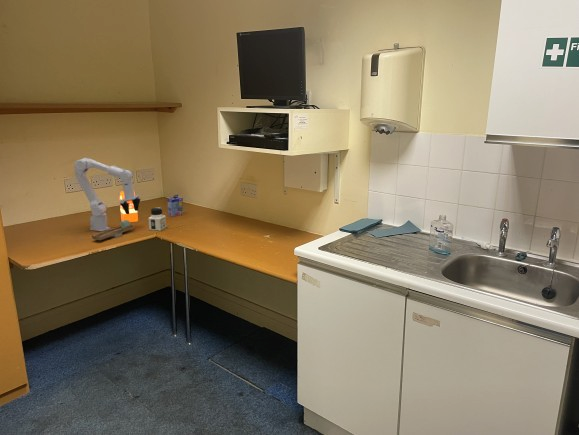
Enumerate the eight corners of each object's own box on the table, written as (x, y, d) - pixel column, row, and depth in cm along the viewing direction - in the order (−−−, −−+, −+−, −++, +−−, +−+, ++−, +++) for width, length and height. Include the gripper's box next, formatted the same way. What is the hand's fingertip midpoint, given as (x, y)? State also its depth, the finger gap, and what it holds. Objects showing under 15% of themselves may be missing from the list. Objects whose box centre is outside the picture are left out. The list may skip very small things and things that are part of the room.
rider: (121, 227, 268) (120, 221, 267) (125, 226, 271) (125, 219, 270) (124, 228, 267) (124, 221, 266) (129, 226, 270) (129, 220, 269)
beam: (91, 241, 251) (90, 235, 250) (124, 229, 274) (124, 223, 273) (101, 243, 248) (101, 236, 247) (135, 231, 271) (134, 225, 270)
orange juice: (138, 221, 293) (135, 191, 288) (124, 223, 289) (121, 192, 283) (134, 218, 300) (132, 189, 295) (121, 220, 295) (118, 190, 290)
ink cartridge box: (173, 217, 304) (171, 196, 300) (167, 215, 307) (166, 195, 303) (184, 214, 312) (182, 193, 308) (178, 213, 315) (177, 192, 311)
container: (160, 230, 272) (159, 210, 269) (149, 229, 274) (147, 209, 270) (166, 227, 280) (165, 207, 276) (155, 226, 281) (153, 206, 278)
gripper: (124, 193, 261) (128, 215, 264) (142, 188, 274) (145, 209, 277) (115, 192, 264) (119, 215, 267) (133, 187, 276) (136, 209, 280)
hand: (132, 212), depth 272 cm, fingers open, 7 cm apart
